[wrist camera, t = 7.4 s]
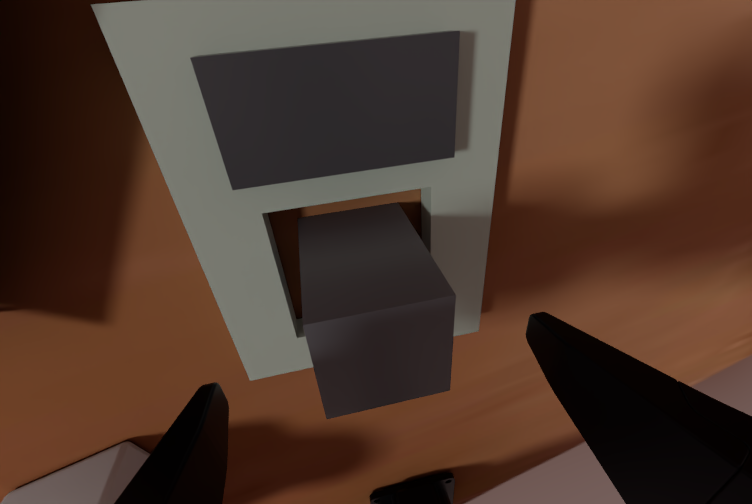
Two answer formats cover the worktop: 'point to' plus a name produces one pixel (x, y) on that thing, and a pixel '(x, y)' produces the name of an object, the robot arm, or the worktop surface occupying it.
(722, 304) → the worktop surface
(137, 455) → the medicine bottle
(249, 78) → the plate
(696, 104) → the worktop surface
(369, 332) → the block
